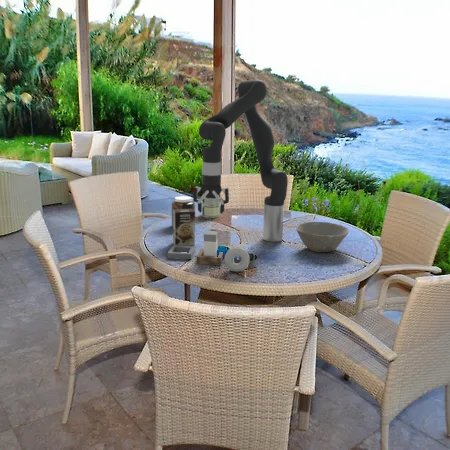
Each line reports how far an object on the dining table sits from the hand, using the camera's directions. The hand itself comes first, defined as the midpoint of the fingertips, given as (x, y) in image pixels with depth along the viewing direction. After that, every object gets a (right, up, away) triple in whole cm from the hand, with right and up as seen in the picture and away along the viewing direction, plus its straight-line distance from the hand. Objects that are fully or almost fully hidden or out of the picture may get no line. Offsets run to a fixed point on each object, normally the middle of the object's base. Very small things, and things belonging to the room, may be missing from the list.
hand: (210, 212), depth 202 cm
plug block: (0, -20, +6) cm, 21 cm away
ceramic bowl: (+49, -16, +22) cm, 56 cm away
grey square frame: (-13, -18, +11) cm, 25 cm away
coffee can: (-2, 0, +75) cm, 76 cm away
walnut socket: (0, -20, +6) cm, 21 cm away
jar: (-16, -6, +54) cm, 56 cm away
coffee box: (-13, -14, +25) cm, 32 cm away
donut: (+10, -23, -6) cm, 26 cm away
